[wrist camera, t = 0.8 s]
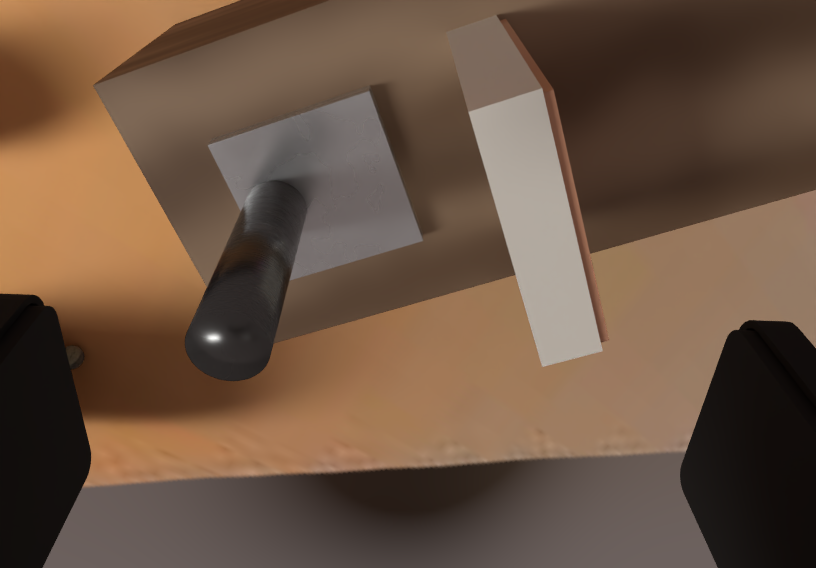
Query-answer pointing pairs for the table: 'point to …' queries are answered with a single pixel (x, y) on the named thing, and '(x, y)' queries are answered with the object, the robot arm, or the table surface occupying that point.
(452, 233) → the walnut block
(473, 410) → the table surface
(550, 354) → the tile
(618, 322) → the table surface
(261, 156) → the grey plate with peg
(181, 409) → the table surface
